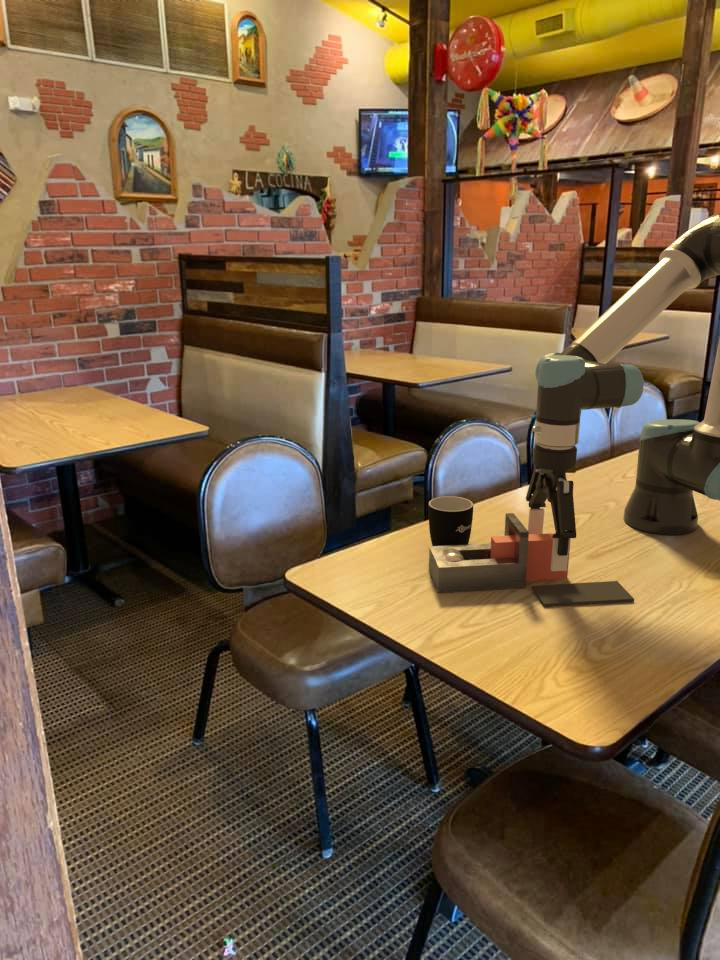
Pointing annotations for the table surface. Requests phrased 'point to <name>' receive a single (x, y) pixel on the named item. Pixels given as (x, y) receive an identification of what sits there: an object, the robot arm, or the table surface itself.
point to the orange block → (530, 555)
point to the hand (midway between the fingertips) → (545, 554)
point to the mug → (450, 520)
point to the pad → (581, 593)
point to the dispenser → (480, 564)
